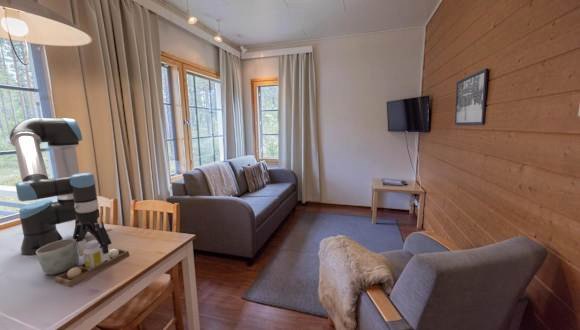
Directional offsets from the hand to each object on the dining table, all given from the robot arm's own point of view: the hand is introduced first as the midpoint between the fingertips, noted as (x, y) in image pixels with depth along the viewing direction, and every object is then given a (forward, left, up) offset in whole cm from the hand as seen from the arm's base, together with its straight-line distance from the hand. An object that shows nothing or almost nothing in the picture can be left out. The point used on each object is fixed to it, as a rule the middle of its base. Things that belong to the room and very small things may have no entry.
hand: (94, 257), depth 105 cm
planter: (-12, -5, -5) cm, 14 cm away
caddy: (0, 0, -5) cm, 5 cm away
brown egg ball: (0, -8, -5) cm, 9 cm away
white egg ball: (0, +8, -5) cm, 9 cm away
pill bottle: (0, 0, -5) cm, 5 cm away
